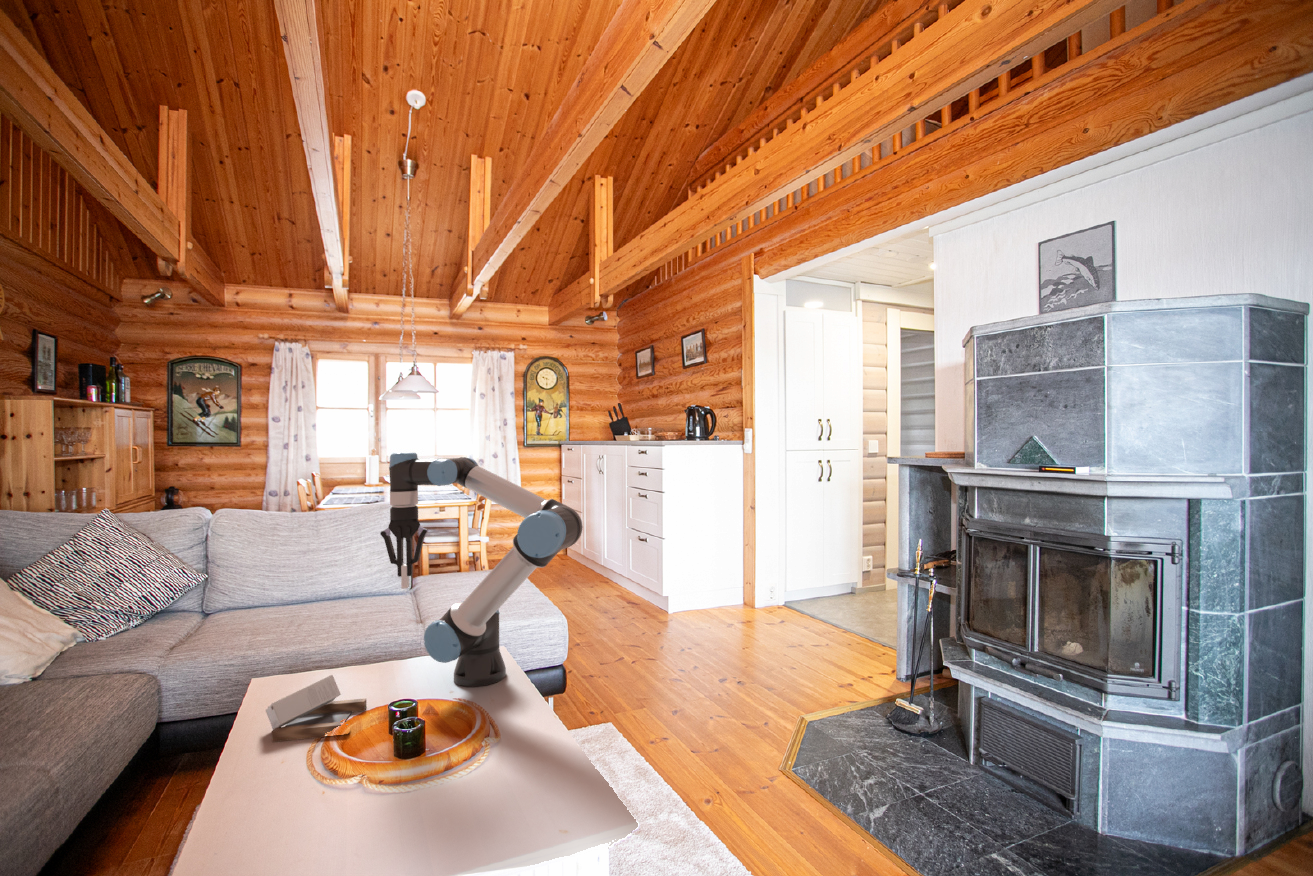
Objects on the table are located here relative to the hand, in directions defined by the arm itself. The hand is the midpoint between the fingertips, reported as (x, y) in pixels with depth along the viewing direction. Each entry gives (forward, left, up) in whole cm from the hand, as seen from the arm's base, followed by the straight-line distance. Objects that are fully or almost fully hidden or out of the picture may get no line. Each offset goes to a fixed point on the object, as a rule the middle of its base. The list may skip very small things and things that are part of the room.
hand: (405, 587), depth 181 cm
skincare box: (+15, +14, -22) cm, 30 cm away
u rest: (+17, +19, -29) cm, 39 cm away
